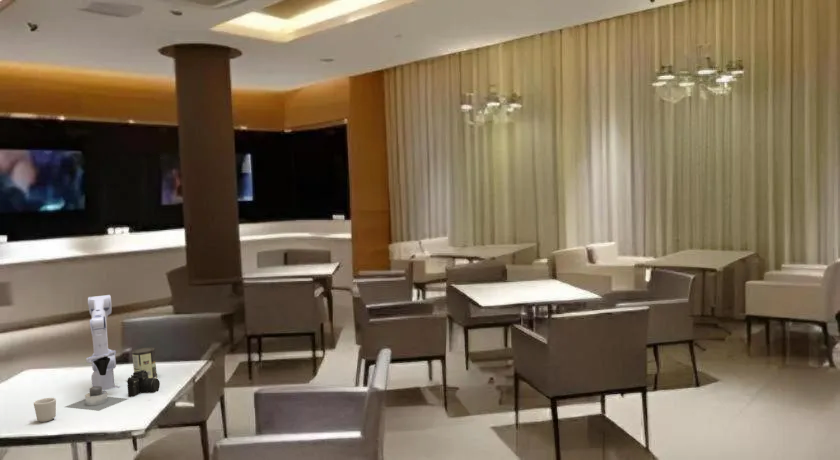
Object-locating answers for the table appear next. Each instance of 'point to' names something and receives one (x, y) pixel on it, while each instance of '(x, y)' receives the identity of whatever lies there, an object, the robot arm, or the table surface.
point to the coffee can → (145, 361)
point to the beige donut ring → (96, 399)
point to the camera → (141, 383)
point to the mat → (109, 403)
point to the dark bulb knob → (95, 390)
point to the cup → (45, 409)
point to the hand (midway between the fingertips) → (103, 374)
